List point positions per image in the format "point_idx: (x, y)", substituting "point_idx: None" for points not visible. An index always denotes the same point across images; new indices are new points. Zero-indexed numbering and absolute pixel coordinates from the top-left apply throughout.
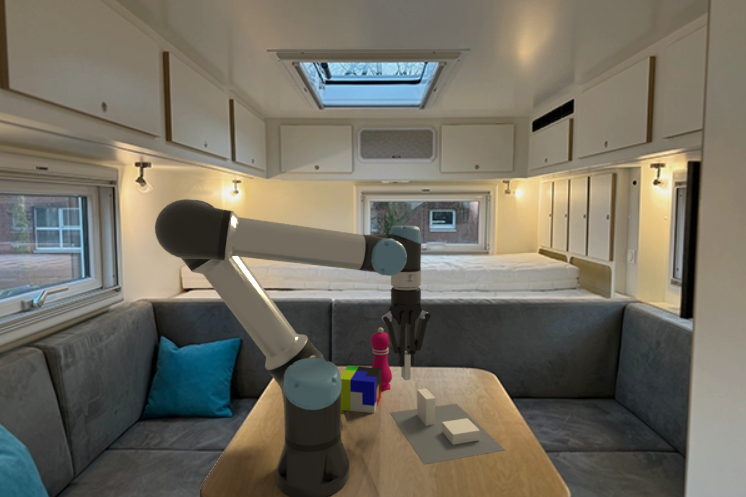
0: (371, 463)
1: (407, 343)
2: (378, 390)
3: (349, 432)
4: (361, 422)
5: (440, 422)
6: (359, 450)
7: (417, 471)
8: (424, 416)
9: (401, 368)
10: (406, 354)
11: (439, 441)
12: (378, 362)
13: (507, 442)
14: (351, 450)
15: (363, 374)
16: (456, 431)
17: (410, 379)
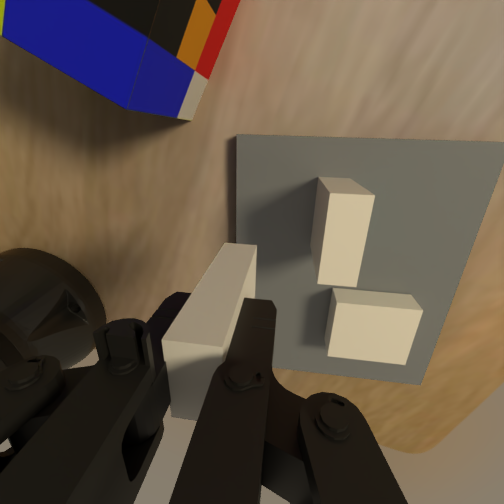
0: (148, 309)
1: (187, 472)
2: (204, 15)
3: (112, 185)
4: (148, 141)
5: None
6: (130, 265)
7: None
8: (313, 243)
9: (212, 262)
10: (189, 408)
11: (304, 316)
12: None
13: (464, 348)
14: (114, 259)
15: None
16: (344, 349)
17: (254, 297)
